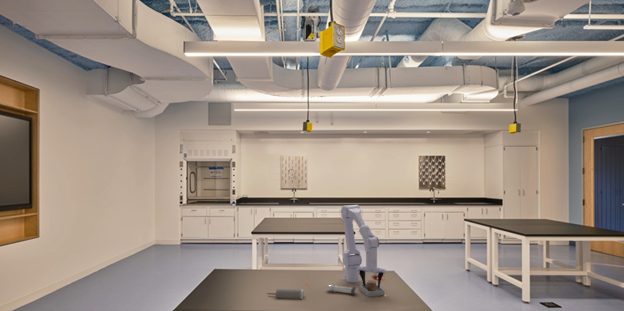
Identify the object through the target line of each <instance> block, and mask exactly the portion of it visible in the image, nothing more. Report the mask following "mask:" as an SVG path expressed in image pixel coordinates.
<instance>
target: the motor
mask: <svg viewBox="0 0 624 311" xmlns="http://www.w3.org/2000/svg"><path fill="white" fill-rule="evenodd" d="M305 284H306V285H307V286H308V288H309V289H311V288H310V285H309V284H308V282H305ZM266 295H272V296H273V295H275V298H276V299H294V300H295V299H296V300H297V299H298V300H303V299H304V296H305V291H304V289H299V288H298V289H297V288H296V289H295V288H276V292H267V293H266Z"/></svg>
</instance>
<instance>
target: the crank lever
mask: <svg viewBox="0 0 624 311" xmlns="http://www.w3.org/2000/svg"><path fill="white" fill-rule="evenodd" d="M326 292H328V293H334V292H337V293H344V294H351V295H353V296H354V295H355V293H356V287H355V286H352V287H350V286H340V285H334V284H332V283H329V284H327V285H326Z"/></svg>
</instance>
